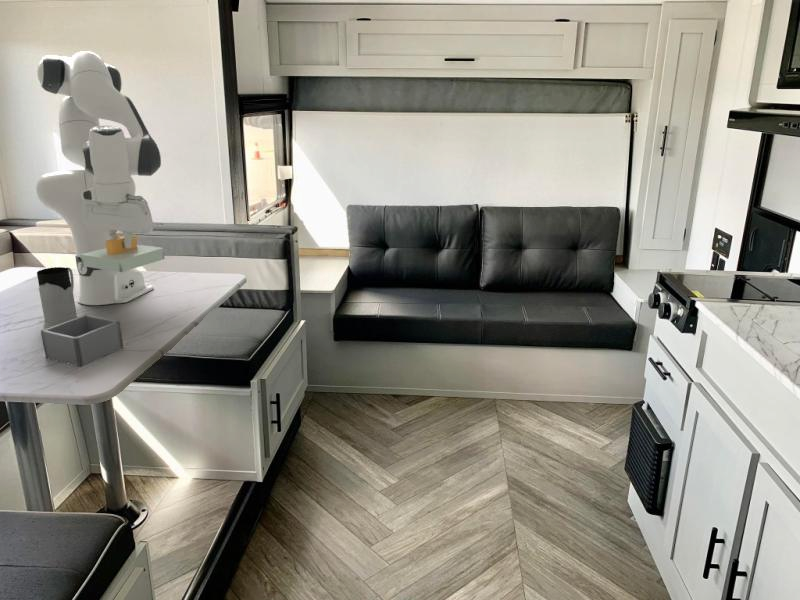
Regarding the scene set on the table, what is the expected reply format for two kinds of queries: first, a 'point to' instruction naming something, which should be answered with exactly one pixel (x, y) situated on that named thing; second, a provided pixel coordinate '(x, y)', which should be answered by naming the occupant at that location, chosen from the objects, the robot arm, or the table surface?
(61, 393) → the table surface
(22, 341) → the table surface
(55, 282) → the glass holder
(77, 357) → the parts tub
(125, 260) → the lid
